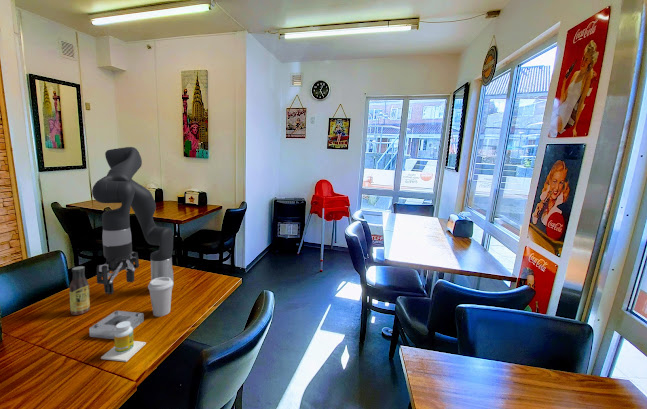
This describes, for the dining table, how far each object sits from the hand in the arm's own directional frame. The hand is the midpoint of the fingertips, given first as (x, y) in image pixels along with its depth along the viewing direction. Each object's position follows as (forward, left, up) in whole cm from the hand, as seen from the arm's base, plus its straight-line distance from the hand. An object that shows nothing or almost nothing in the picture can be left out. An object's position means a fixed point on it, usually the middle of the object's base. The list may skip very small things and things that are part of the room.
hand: (120, 287), depth 89 cm
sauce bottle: (-19, -36, -24) cm, 47 cm away
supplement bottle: (0, 0, -24) cm, 24 cm away
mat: (0, 0, -24) cm, 24 cm away
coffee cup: (-24, -3, -24) cm, 34 cm away
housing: (-11, -12, -24) cm, 29 cm away
